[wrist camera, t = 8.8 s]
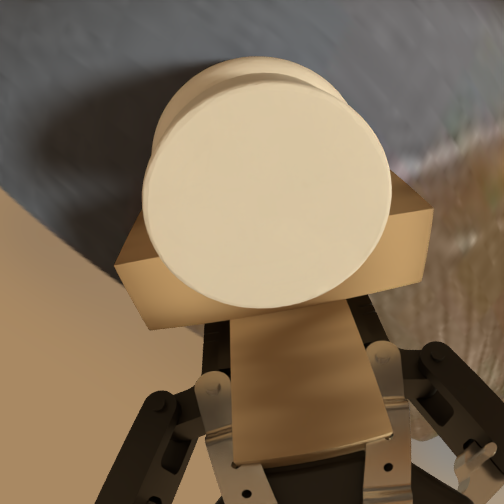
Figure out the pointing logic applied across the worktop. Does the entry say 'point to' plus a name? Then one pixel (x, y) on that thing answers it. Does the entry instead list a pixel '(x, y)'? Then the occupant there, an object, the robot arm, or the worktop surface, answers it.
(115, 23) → the worktop surface
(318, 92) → the pill bottle
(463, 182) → the worktop surface
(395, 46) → the worktop surface
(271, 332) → the scraper
